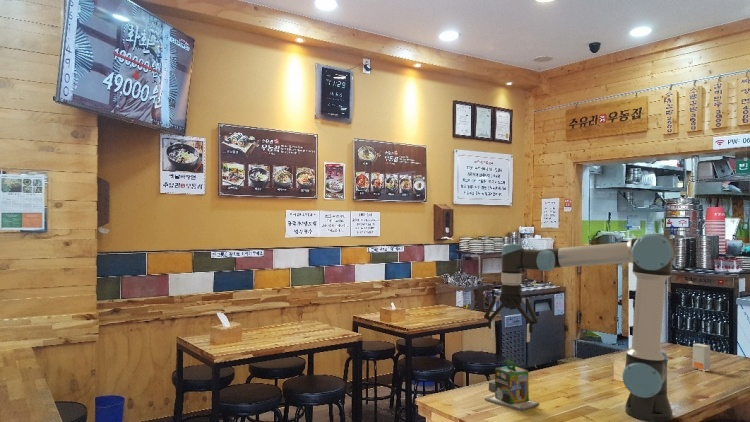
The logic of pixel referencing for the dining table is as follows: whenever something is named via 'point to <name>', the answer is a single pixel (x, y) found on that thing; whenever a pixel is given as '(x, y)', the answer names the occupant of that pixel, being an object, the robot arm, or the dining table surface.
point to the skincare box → (701, 356)
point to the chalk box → (511, 384)
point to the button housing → (492, 386)
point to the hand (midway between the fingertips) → (510, 339)
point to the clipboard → (516, 406)
